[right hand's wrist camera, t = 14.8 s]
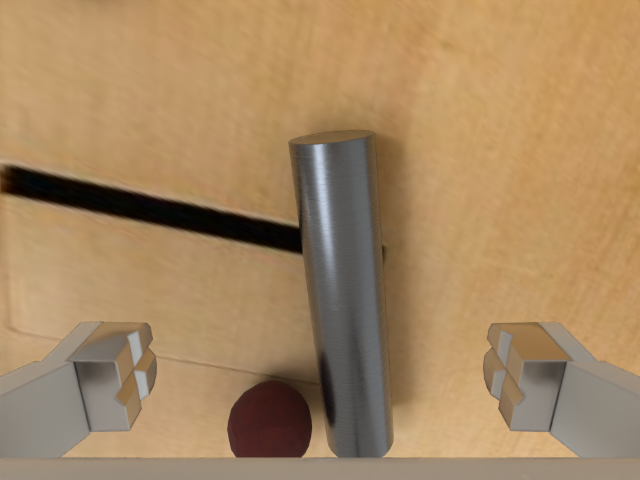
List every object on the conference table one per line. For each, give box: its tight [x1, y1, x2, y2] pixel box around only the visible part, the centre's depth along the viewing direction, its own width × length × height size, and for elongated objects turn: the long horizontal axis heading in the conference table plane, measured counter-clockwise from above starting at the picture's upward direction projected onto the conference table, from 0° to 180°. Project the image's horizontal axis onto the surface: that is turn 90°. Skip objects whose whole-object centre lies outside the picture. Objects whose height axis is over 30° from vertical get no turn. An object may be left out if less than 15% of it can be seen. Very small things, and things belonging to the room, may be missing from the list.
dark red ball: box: [227, 381, 312, 458], centre depth 39 cm, size 7×8×7 cm
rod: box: [289, 130, 394, 458], centre depth 35 cm, size 27×6×6 cm
